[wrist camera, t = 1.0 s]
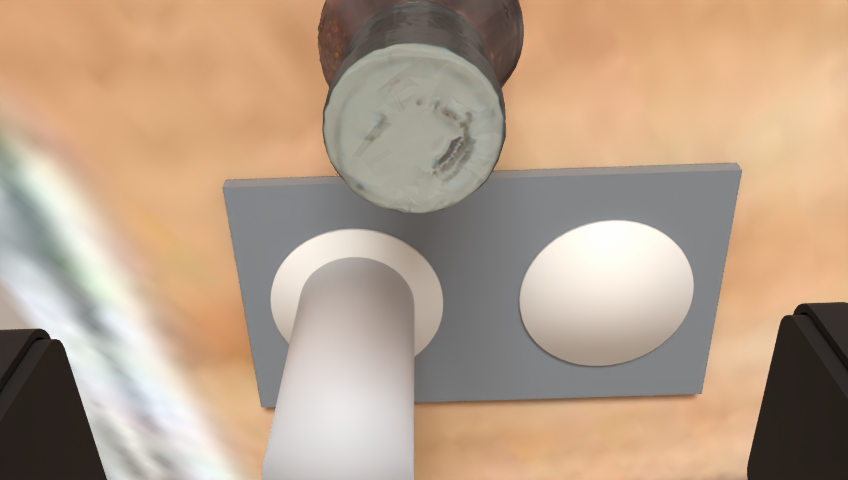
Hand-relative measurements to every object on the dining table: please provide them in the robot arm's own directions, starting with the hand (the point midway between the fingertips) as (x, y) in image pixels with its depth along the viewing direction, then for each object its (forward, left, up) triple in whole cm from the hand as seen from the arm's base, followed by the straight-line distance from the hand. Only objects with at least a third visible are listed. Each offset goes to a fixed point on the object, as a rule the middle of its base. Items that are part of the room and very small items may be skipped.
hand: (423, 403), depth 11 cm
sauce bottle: (0, 0, -28) cm, 28 cm away
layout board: (-3, +17, -28) cm, 33 cm away
